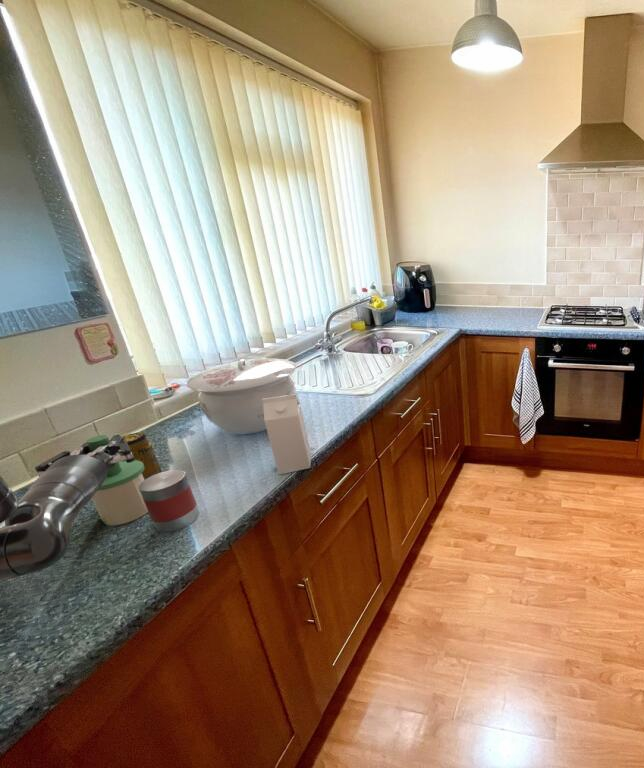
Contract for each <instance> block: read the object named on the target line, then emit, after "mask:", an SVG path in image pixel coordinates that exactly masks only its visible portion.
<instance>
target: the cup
mask: <svg viewBox="0 0 644 768" xmlns="http://www.w3.org/2000/svg"><path fill="white" fill-rule="evenodd" d="M143 481H144V478H143V475H142V473H141V474H140V475H139V476H138V477H136V478H134V479H133V480H131V481H129V482H127V483H124V484H122V485H119V486H116V487H113V488H109V489H105V490H100V491H97V492H96V493H95V494H94V496H93V497H92V498H91V501H92V503H93V505H94V507H95V509H96V511H97V514H98V515H99V517H100V520H101V521H102V523H103V524H105V525H106V526H119V525H123V524H127V523H130V522H133V521H135V520H138V519H140V518H142V517H144V516H145V515H147V514H149V512H148V510H147V507H146V505H145V503H144V500H143V497H142V495H141V492H140V490H139V485H140V484H141V483H142V482H143Z"/></svg>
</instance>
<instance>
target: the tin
mask: <svg viewBox="0 0 644 768" xmlns="http://www.w3.org/2000/svg"><path fill="white" fill-rule="evenodd" d="M139 490H140V492H141V495H142V497H143V500H144V503H145V505H146V507H147V510H148V515H149V517H150V519H151V520H152V523H153V525H154V528H155V530H156V531H157V532H159V533H172V532H176V531H179V530H182V529H185V528H186V527H188V526H189V525H191V524H192V523H194V522H195V521H197V520H198V518H199V516H200V510H199V508H198V504H197V500H196V498H195V496H194V495H195V494H194V493H193V489H192V486H191V484H190V483H189V480H188V477H187V474H186V472H185V471H184V470H183V469H169V470H165V471H162V472H161V473H158V474H155V475H153V476H151V477H149V478H147V479H145V480H144V481H143V482H142V483H141V484H140V485H139Z"/></svg>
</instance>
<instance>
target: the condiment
mask: <svg viewBox="0 0 644 768" xmlns="http://www.w3.org/2000/svg"><path fill="white" fill-rule="evenodd" d="M121 436H122V438H123V440H124V441H126V442H127V444H128V446H129V448H130V450H131V452H132V454H133V457H134V459H135V460H137V461H141V462H142V463H143V465H144V471H143V472H142V475H143V478H144V480H145V479H147V478H149V477H151V476H153V475H155V474H158V473H161V472H163V471H162V469H161V466H160V464H159V460H158V458H157V455H156V453H155V451H154V450H155V449H154V447H153V445H152V443H150V442H149V440H148V438H147V435H146V434H145V433H143V432H132V433H128V434H125V435H121ZM120 462H121V461H120Z"/></svg>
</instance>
